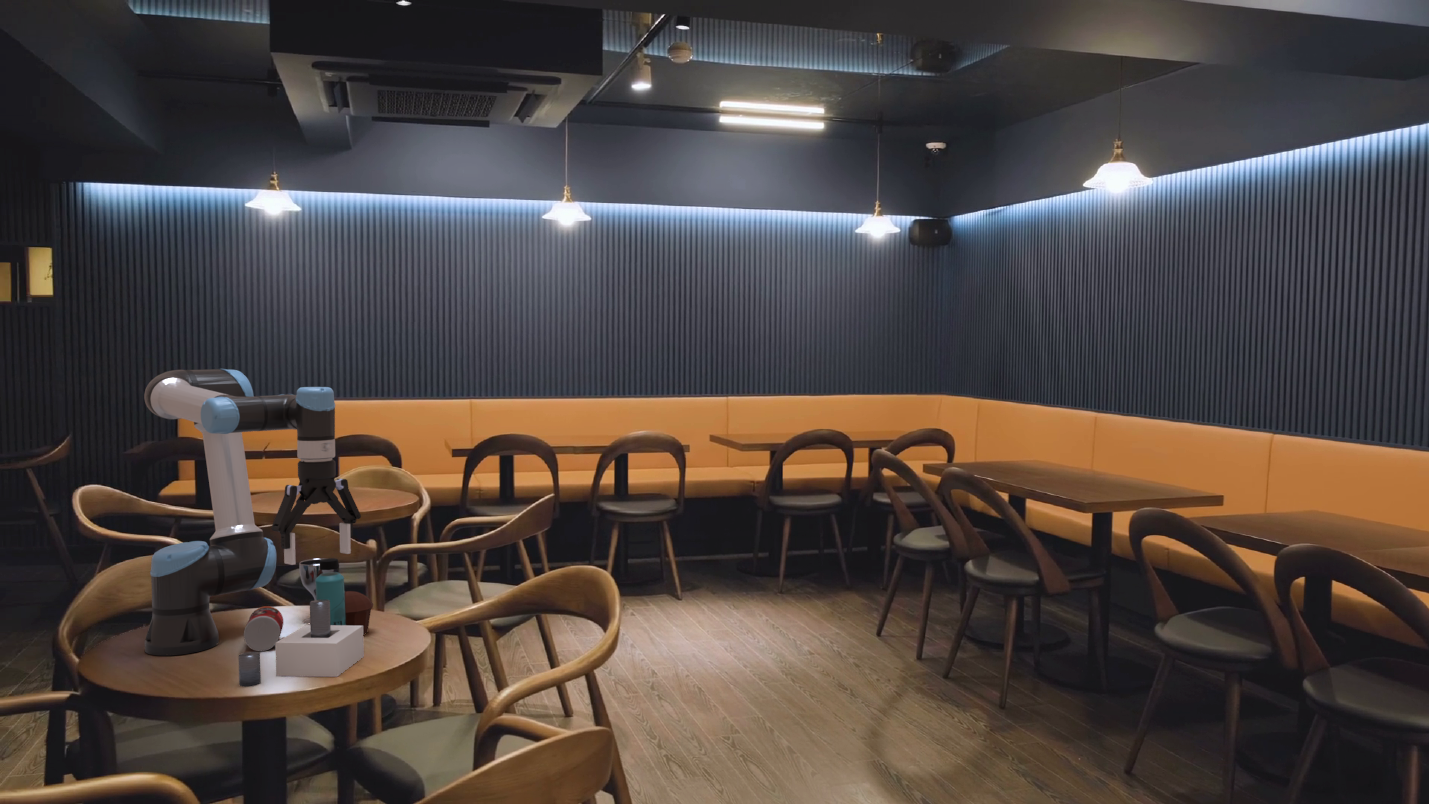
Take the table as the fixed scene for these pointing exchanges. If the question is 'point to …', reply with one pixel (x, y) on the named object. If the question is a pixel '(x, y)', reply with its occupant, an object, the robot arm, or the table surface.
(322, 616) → the long peg
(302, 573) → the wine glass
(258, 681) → the short peg
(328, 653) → the hole block
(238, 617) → the table surface
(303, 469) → the robot arm
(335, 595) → the beverage bottle
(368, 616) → the muffin
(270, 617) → the canned food
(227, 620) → the table surface
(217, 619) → the table surface
